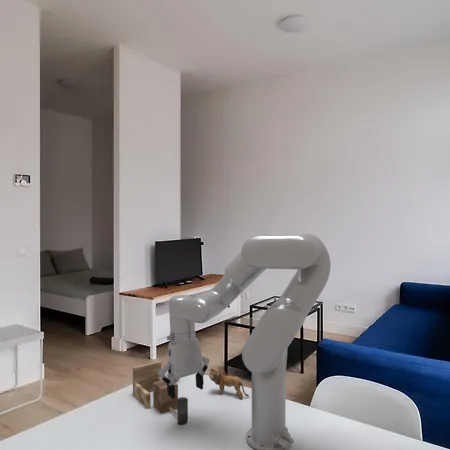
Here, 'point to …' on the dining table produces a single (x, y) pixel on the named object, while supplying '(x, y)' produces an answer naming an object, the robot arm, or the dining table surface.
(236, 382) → the lion figurine
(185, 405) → the wooden lever toy
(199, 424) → the dining table surface
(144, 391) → the wooden stand
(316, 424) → the dining table surface
